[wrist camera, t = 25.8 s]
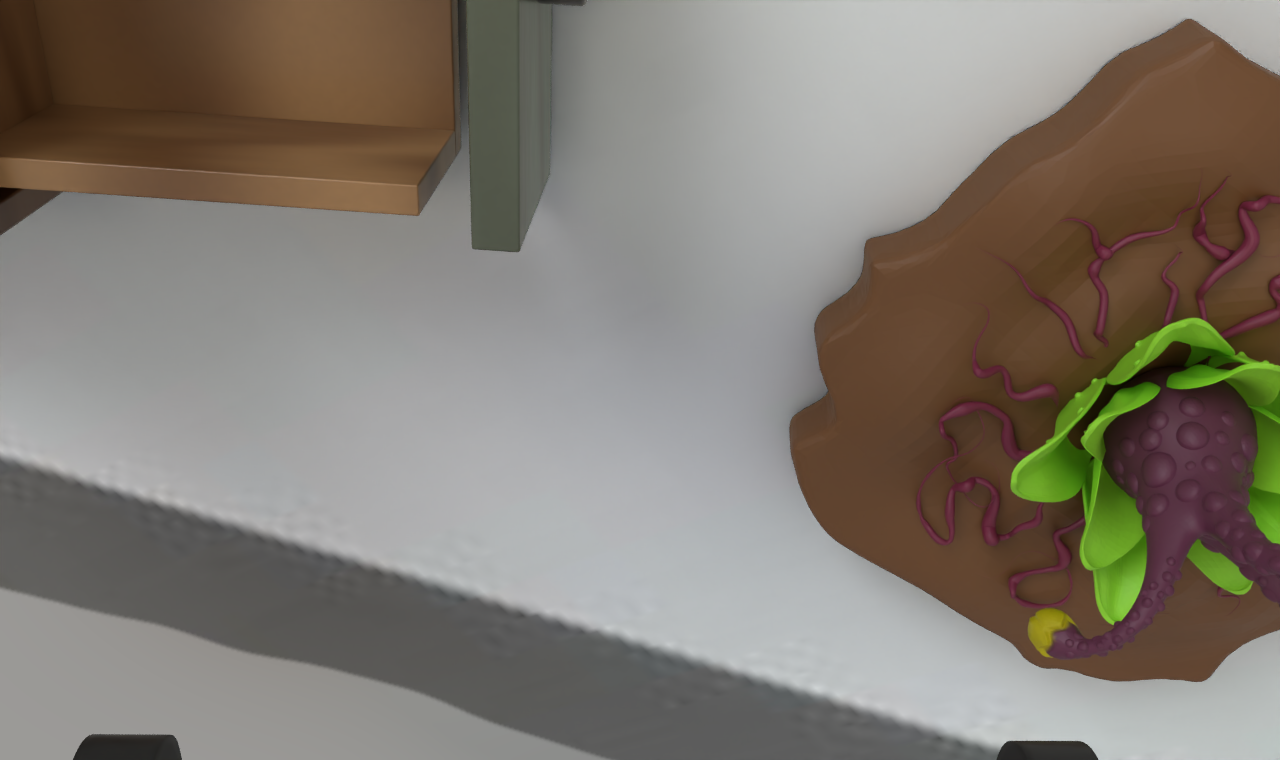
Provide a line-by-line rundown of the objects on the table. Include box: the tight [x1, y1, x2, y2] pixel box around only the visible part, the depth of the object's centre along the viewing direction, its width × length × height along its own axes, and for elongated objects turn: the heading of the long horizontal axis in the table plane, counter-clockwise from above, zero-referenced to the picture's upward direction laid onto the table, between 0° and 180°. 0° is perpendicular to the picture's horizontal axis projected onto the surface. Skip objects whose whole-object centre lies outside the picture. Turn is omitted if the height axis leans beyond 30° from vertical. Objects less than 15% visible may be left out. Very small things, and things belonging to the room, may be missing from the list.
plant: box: [789, 19, 1280, 682], centre depth 32 cm, size 20×20×11 cm
